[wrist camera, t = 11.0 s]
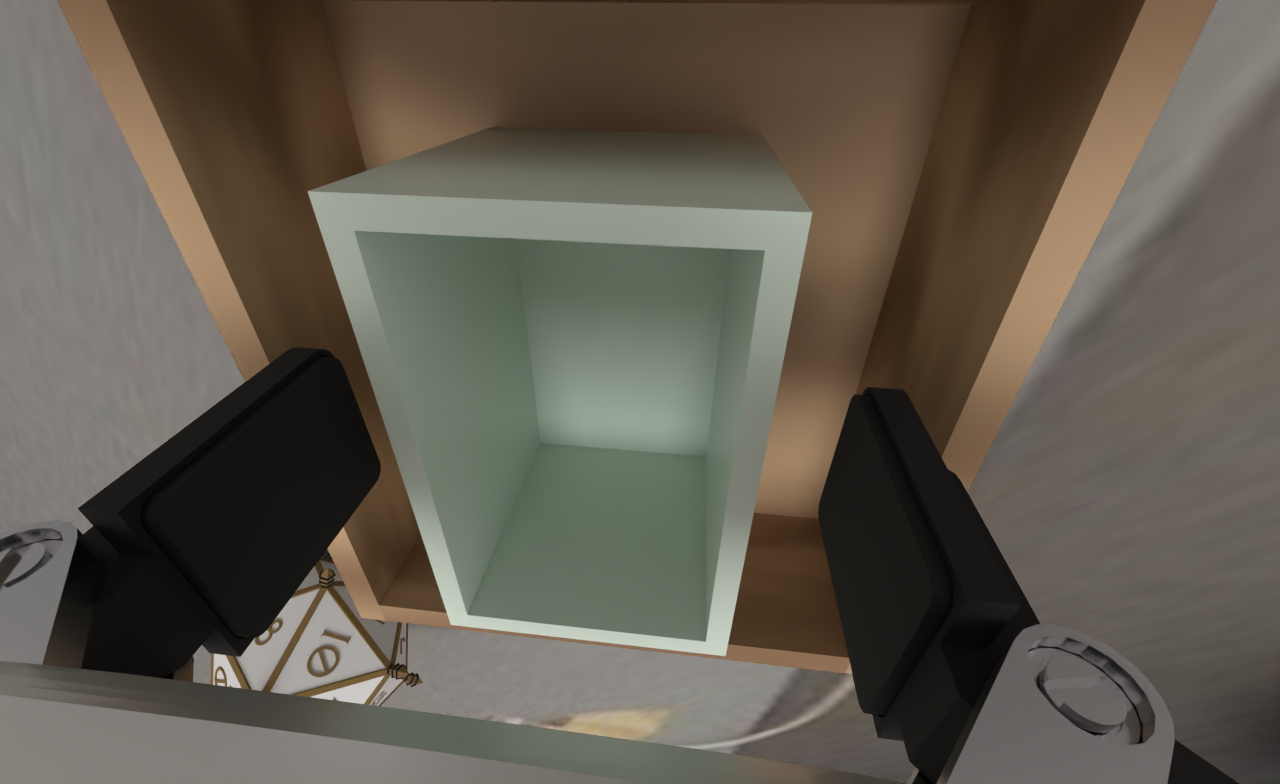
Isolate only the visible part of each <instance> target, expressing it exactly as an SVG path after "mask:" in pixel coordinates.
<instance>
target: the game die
mask: <svg viewBox="0 0 1280 784" xmlns="http://www.w3.org/2000/svg"><path fill="white" fill-rule="evenodd" d="M407 651H408V623H401V622H393V621H384V620H375V619H366V618H361V616H360V614H359V612H358V610H357V608H356V606H355V604H354V602H353V600H352V598H351V596H350V594H349V592H348V590H347V588H346V586H345V584H344V582H343V580H342V578H341V576H340V574H339V572H338V569H337V567H336V565H335V563H334V562H332V561H328V560H325V559H321V558H320V559H319V561H318V562H317V563H316V565H315V566H314V567H313V569H312V570H311V571H310V573H309V574H308V575H307V577H306V578H305V579H304V581H303V582H302V584H301V585H300V586H299V588H298V589H297V590H296V592H295V593H294V594H293V596H292V597H291V598H290V600H289V601H288V602H287V604H286V605H285V607H284V608H283V609H282V611H281V612H280V613H279V615H278V616H277V617H276V619H275V620H274V621H273V623H272V624H271V625H270V627H269V628H268V629H267V630H266V631H265V632H264V633H263V634H262V635H260V636H258V637H256V638H254V640H253V641H252V642H251V644H250V645H249V646H248V648H247V649H246V650H245V652H244V653H243V654H242V656H241V657H237V656H229V655H221V654H213V653H212V656H211V685H219V686H227V687H234V688H242V689H250V690H258V691H266V692H274V693H282V694H290V695H297V696H305V697H313V698H320V699H328V700H336V701H343V702H351V703H358V704H366V705H374V706H381V705H382V704H383V703H384V702H385V701H386V700H387V699H388V698H389V697H390V695H391V694H392V693H393V692H394V691H395V690H396V689H397V688H398V687H399V686H400V685H401V684H402V683H403V682H405V683H406V685H411V687H413V686H415V685H416V684H420V683H423V682H422V681H421V680H420V678H419V675H418V674H417V673H416V674H413V673H411V674H409V673H408V671H407Z"/></svg>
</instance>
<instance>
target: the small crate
mask: <svg viewBox="0 0 1280 784" xmlns="http://www.w3.org/2000/svg"><path fill="white" fill-rule="evenodd" d="M308 194H309V197H310V200H311V203H312V207H313V210H314V213H315V216H316V219H317V222H318V225H319V228H320V231H321V234H322V237H323V240H324V243H325V246H326V249H327V252H328V255H329V258H330V261H331V264H332V267H333V270H334V273H335V276H336V279H337V282H338V285H339V288H340V291H341V294H342V297H343V300H344V303H345V306H346V309H347V312H348V315H349V318H350V321H351V324H352V328H353V331H354V334H355V337H356V340H357V343H358V346H359V349H360V352H361V355H362V358H363V361H364V364H365V367H366V370H367V373H368V376H369V379H370V382H371V385H372V388H373V391H374V394H375V397H376V400H377V403H378V406H379V409H380V412H381V415H382V418H383V421H384V424H385V427H386V430H387V433H388V436H389V439H390V442H391V445H392V449H393V452H394V455H395V458H396V461H397V464H398V467H399V470H400V473H401V476H402V479H403V482H404V485H405V488H406V491H407V494H408V497H409V500H410V503H411V506H412V509H413V512H414V515H415V518H416V521H417V524H418V527H419V530H420V533H421V536H422V539H423V542H424V545H425V548H426V551H427V554H428V557H429V560H430V563H431V566H432V570H433V573H434V576H435V579H436V582H437V585H438V588H439V591H440V594H441V597H442V600H443V603H444V606H445V609H446V612H447V615H448V618H449V621H450V624H451V625H456V626H465V627H473V628H482V629H491V630H500V631H508V632H517V633H526V634H535V635H543V636H552V637H561V638H570V639H578V640H587V641H596V642H605V643H613V644H622V645H631V646H640V647H648V648H657V649H666V650H675V651H683V652H692V653H701V654H710V655H718V656H726V652H727V647H728V642H729V637H730V632H731V626H732V621H733V616H734V611H735V606H736V601H737V596H738V591H739V585H740V580H741V575H742V570H743V565H744V560H745V555H746V550H747V545H748V539H749V534H750V529H751V524H752V519H753V514H754V509H755V504H756V499H757V493H758V488H759V483H760V478H761V473H762V468H763V463H764V458H765V453H766V447H767V442H768V437H769V432H770V427H771V422H772V417H773V412H774V407H775V401H776V396H777V391H778V386H779V381H780V376H781V371H782V366H783V360H784V355H785V350H786V345H787V340H788V335H789V330H790V325H791V320H792V314H793V309H794V304H795V299H796V294H797V289H798V284H799V279H800V274H801V268H802V263H803V258H804V253H805V248H806V243H807V238H808V233H809V228H810V222H811V217H812V211H811V210H810V208H809V206H808V205H807V203H806V202H805V200H804V199H803V197H802V196H801V194H800V193H799V191H798V190H797V188H796V187H795V185H794V183H793V182H792V180H791V179H790V177H789V176H788V174H787V173H786V171H785V170H784V168H783V167H782V165H781V164H780V162H779V160H778V159H777V157H776V156H775V154H774V153H773V151H772V150H771V148H770V147H769V145H768V144H767V142H766V140H765V139H764V137H763V136H762V135H733V134H699V133H666V132H632V131H598V130H565V129H531V128H498V127H490V128H488V129H485V130H482V131H479V132H476V133H473V134H470V135H468V136H465V137H462V138H459V139H456V140H453V141H450V142H448V143H445V144H442V145H439V146H436V147H433V148H430V149H427V150H425V151H422V152H419V153H416V154H413V155H410V156H407V157H405V158H402V159H399V160H396V161H393V162H390V163H387V164H384V165H382V166H379V167H376V168H373V169H370V170H367V171H364V172H362V173H359V174H356V175H353V176H350V177H347V178H344V179H342V180H339V181H336V182H333V183H330V184H327V185H324V186H321V187H319V188H316V189H313V190H310V191H308Z"/></svg>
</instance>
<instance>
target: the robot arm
mask: <svg viewBox="0 0 1280 784" xmlns="http://www.w3.org/2000/svg"><path fill="white" fill-rule="evenodd" d="M380 472H381V464H380V460H379V458H378V455H377V452H376V450H375V447H374V445H373V442H372V439H371V437H370V434H369V432H368V429H367V426H366V424H365V421H364V419H363V416H362V413H361V411H360V408H359V406H358V403H357V401H356V398H355V395H354V393H353V390H352V388H351V385H350V382H349V380H348V377H347V375H346V372H345V369H344V367H343V365H342V363H341V361H340V360H339V359H337V358H335V357H334V355H333V354H332V353H331V352H330V351H328V350H325V349H315V348H301V347H295V348H291V349H289V350H287V351H286V352H284V353H283V354H282V355H281V356H279V357H278V358H277V359H275V360H274V361H273V362H271V363H270V364H269V365H267V366H266V367H265V368H263V369H262V370H261V371H259V372H258V373H257V374H255V375H254V376H253V377H251V378H250V379H249V380H247V381H246V382H245V383H243V384H242V385H241V386H239V387H238V388H237V389H235V390H234V391H233V392H232V393H230V394H229V395H228V396H226V397H225V398H224V399H222V400H221V401H220V402H218V403H217V404H216V405H214V406H213V407H212V408H210V409H209V410H208V411H206V412H205V413H204V414H202V415H201V416H200V417H198V418H197V419H196V420H194V421H193V422H192V423H190V424H189V425H188V426H186V427H185V428H184V429H183V430H181V431H180V432H179V433H177V434H176V435H175V436H173V437H172V438H171V439H169V440H168V441H167V442H165V443H164V444H163V445H161V446H160V447H159V448H157V449H156V450H155V451H153V452H152V453H151V454H149V455H148V456H147V457H145V458H144V459H143V460H141V461H140V462H139V463H137V464H136V465H135V466H134V467H132V468H131V469H130V470H128V471H127V472H126V473H124V474H123V475H122V476H120V477H119V478H118V479H116V480H115V481H114V482H112V483H111V484H110V485H108V486H107V487H106V488H104V489H103V490H102V491H100V492H99V493H98V494H96V495H95V496H94V497H92V498H91V499H90V500H88V501H87V502H86V503H85V504H83V505H82V506H81V507H79V508H78V509H79V510H80V511H81V512H82V514H83V515H84V516H85V517H86V518H87V519H88V520H89V521H90V522H91V523H92V525H93V527H92V528H91V529H89V530H88V531H87V532H86V533H84V534H82V533H81V532H80V531H79V530H78V529H77V528H76V527H75V526H74V525H73V524H72V523H70V522H67V521H62V520H45V521H37V522H33V523H29V524H25V525H21V526H18V527H15V528H12V529H10V530H7V531H4V532H2V533H0V784H904V783H899V782H895V781H890V780H885V779H880V778H875V777H870V776H866V775H861V774H856V773H849V772H843V771H836V770H830V769H824V768H817V767H811V766H804V765H798V764H792V763H785V762H779V761H772V760H766V759H759V758H753V757H747V756H740V755H734V754H727V753H721V752H714V751H706V750H699V749H692V748H685V747H677V746H670V745H663V744H655V743H648V742H641V741H634V740H626V739H619V738H612V737H604V736H597V735H590V734H583V733H575V732H568V731H561V730H553V729H546V728H539V727H532V726H524V725H517V724H509V723H502V722H494V721H487V720H479V719H472V718H464V717H457V716H449V715H442V714H434V713H427V712H419V711H412V710H404V709H396V708H389V707H381V706H374V705H366V704H358V703H351V702H343V701H336V700H328V699H320V698H313V697H305V696H297V695H290V694H282V693H274V692H266V691H258V690H250V689H242V688H234V687H227V686H219V685H211V684H203V683H195V682H193V664H194V658H193V654H194V653H195V652H196V651H197V650H198V648H199V647H200V646H201V645H203V646H204V647H205V648H206V649H207V651H208V652H209V653H213V654H221V655H229V656H237V657H241V656H242V654H243V653H244V652H245V650H246V649H247V648H248V646H249V645H250V644H251V642H252V641H253V640H254V638H256V637H258V636H260V635H262V634H263V633H264V632H265V631H266V630H267V629H268V628H269V627H270V625H271V624H272V623H273V621H274V620H275V619H276V617H277V616H278V615H279V613H280V612H281V611H282V609H283V608H284V607H285V605H286V604H287V602H288V601H289V600H290V598H291V597H292V596H293V594H294V593H295V592H296V590H297V589H298V588H299V586H300V585H301V584H302V582H303V581H304V579H305V578H306V577H307V575H308V574H309V573H310V571H311V570H312V569H313V567H314V566H315V565H316V563H317V562H318V561H319V559H320V558H321V557H322V555H323V554H324V552H325V551H326V550H327V548H328V547H329V546H330V544H331V543H332V542H333V540H334V539H335V538H336V536H337V535H338V534H339V532H340V531H341V530H342V528H343V527H344V525H345V524H346V523H347V521H348V520H349V519H350V517H351V516H352V515H353V513H354V512H355V511H356V509H357V508H358V507H359V505H360V504H361V502H362V501H363V500H364V498H365V497H366V496H367V494H368V493H369V492H370V490H371V489H372V488H373V486H374V485H375V484H376V482H377V481H378V479H379V476H380ZM818 519H819V525H820V529H821V534H822V538H823V543H824V547H825V552H826V556H827V561H828V565H829V570H830V575H831V579H832V584H833V588H834V593H835V597H836V602H837V606H838V611H839V615H840V620H841V625H842V629H843V634H844V638H845V643H846V647H847V652H848V656H849V661H850V665H851V670H852V674H853V679H854V684H855V688H856V693H857V697H858V701H859V705H860V707H861V709H862V711H863V712H864V713H867V714H872V715H873V719H874V723H875V727H876V732H877V736H878V738H885V739H893V740H901V741H904V743H905V747H906V751H907V754H908V758H909V761H910V762H911V763H912V764H913V765H914V766H915V767H916V768H915V770H914V771H913V773H912V775H911V777H910V779H909V781H908V783H907V784H1239V783H1237V782H1236V781H1234V780H1233V779H1231V778H1230V777H1229V776H1227V775H1226V774H1224V773H1223V772H1221V771H1220V770H1218V769H1217V768H1216V767H1214V766H1213V765H1211V764H1210V763H1208V762H1207V761H1205V760H1204V759H1202V758H1201V757H1200V756H1198V755H1197V754H1195V753H1194V752H1192V751H1191V750H1189V749H1188V748H1187V747H1185V746H1184V745H1182V744H1181V743H1179V742H1178V741H1176V740H1175V737H1174V724H1173V720H1172V717H1171V715H1170V713H1169V711H1168V709H1167V706H1166V704H1165V702H1164V700H1163V698H1162V697H1161V696H1160V694H1159V693H1158V692H1157V690H1156V689H1155V688H1154V686H1153V685H1152V684H1151V682H1150V681H1149V680H1148V678H1147V677H1146V676H1145V675H1143V674H1142V673H1141V672H1140V671H1139V670H1138V669H1137V668H1136V667H1135V666H1134V665H1133V664H1132V663H1131V662H1130V661H1129V660H1128V659H1126V658H1125V657H1124V656H1122V655H1121V654H1119V653H1118V652H1116V651H1115V650H1114V649H1112V648H1111V647H1109V646H1108V645H1106V644H1105V643H1103V642H1102V641H1100V640H1097V639H1095V638H1093V637H1091V636H1089V635H1087V634H1085V633H1083V632H1081V631H1079V630H1075V629H1071V628H1068V627H1064V626H1061V625H1053V624H1040V622H1039V621H1038V619H1037V617H1036V615H1035V613H1034V612H1033V610H1032V608H1031V606H1030V604H1029V603H1028V601H1027V599H1026V597H1025V595H1024V594H1023V592H1022V590H1021V588H1020V586H1019V585H1018V583H1017V581H1016V579H1015V577H1014V576H1013V574H1012V572H1011V570H1010V568H1009V567H1008V565H1007V563H1006V561H1005V559H1004V558H1003V556H1002V554H1001V552H1000V550H999V549H998V547H997V545H996V543H995V541H994V540H993V538H992V536H991V534H990V532H989V531H988V529H987V527H986V525H985V523H984V522H983V520H982V518H981V516H980V514H979V513H978V511H977V509H976V507H975V505H974V504H973V502H972V500H971V498H970V496H969V495H968V493H967V491H966V489H965V487H964V486H963V484H962V482H961V480H960V479H959V478H958V476H957V475H956V474H955V473H954V472H952V471H950V470H948V469H947V467H946V465H945V463H944V461H943V459H942V457H941V456H940V454H939V452H938V450H937V448H936V446H935V445H934V443H933V441H932V439H931V437H930V435H929V433H928V432H927V430H926V428H925V426H924V424H923V422H922V420H921V419H920V417H919V415H918V413H917V411H916V409H915V408H914V406H913V404H912V402H911V400H910V398H909V396H908V395H907V393H906V392H905V391H904V390H902V389H891V388H876V387H868V388H866V389H865V390H864V392H863V394H862V395H856V394H855V395H853V397H852V398H851V401H850V404H849V407H848V410H847V413H846V417H845V420H844V423H843V427H842V430H841V433H840V436H839V440H838V443H837V446H836V449H835V453H834V456H833V459H832V462H831V466H830V469H829V472H828V475H827V479H826V482H825V485H824V489H823V492H822V495H821V498H820V502H819V508H818Z"/></svg>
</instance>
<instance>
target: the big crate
mask: <svg viewBox="0 0 1280 784" xmlns="http://www.w3.org/2000/svg"><path fill="white" fill-rule="evenodd" d="M57 2H58V4H59V6H60V8H61V10H62V12H63V14H64V16H65V18H66V20H67V22H68V24H69V26H70V28H71V30H72V32H73V34H74V36H75V38H76V40H77V42H78V44H79V46H80V48H81V50H82V52H83V55H84V57H85V59H86V61H87V63H88V65H89V67H90V69H91V71H92V73H93V75H94V77H95V79H96V81H97V83H98V85H99V87H100V89H101V91H102V93H103V95H104V97H105V99H106V101H107V103H108V105H109V107H110V109H111V111H112V113H113V115H114V117H115V119H116V121H117V123H118V125H119V128H120V130H121V132H122V134H123V136H124V138H125V140H126V142H127V144H128V146H129V148H130V150H131V152H132V154H133V156H134V158H135V160H136V162H137V164H138V166H139V168H140V170H141V172H142V174H143V176H144V178H145V180H146V182H147V184H148V186H149V188H150V190H151V192H152V194H153V196H154V198H155V200H156V203H157V205H158V207H159V209H160V211H161V213H162V215H163V217H164V219H165V221H166V223H167V225H168V227H169V229H170V231H171V233H172V235H173V237H174V239H175V241H176V243H177V245H178V247H179V249H180V251H181V253H182V255H183V257H184V259H185V261H186V263H187V265H188V267H189V269H190V271H191V273H192V276H193V278H194V280H195V282H196V284H197V286H198V288H199V290H200V292H201V294H202V296H203V298H204V300H205V302H206V304H207V306H208V308H209V310H210V312H211V314H212V316H213V318H214V320H215V322H216V324H217V326H218V328H219V330H220V332H221V334H222V336H223V338H224V340H225V342H226V344H227V346H228V348H229V351H230V353H231V355H232V357H233V359H234V361H235V363H236V365H237V367H238V369H239V371H240V373H241V375H242V377H243V379H244V381H245V382H246V381H247V380H249V379H250V378H251V377H253V376H254V375H255V374H257V373H258V372H259V371H261V370H262V369H263V368H265V367H266V366H267V365H269V364H270V363H271V362H273V361H274V360H275V359H277V358H278V357H279V356H281V355H282V354H283V353H284V352H286V351H287V350H289V349H291V348H295V347H301V348H315V349H325V350H328V351H330V352H331V353H332V354H333V355H334V357H335V358H337V359H339V360H340V361H341V363H342V365H343V367H344V369H345V372H346V375H347V377H348V380H349V382H350V385H351V388H352V390H353V393H354V395H355V398H356V401H357V403H358V406H359V408H360V411H361V413H362V416H363V419H364V421H365V424H366V426H367V429H368V432H369V434H370V437H371V439H372V442H373V445H374V447H375V450H376V452H377V455H378V458H379V460H380V464H381V472H380V476H379V479H378V481H377V482H376V484H375V485H374V486H373V488H372V489H371V490H370V492H369V493H368V494H367V496H366V497H365V498H364V500H363V501H362V502H361V504H360V505H359V507H358V508H357V509H356V511H355V512H354V513H353V515H352V516H351V517H350V519H349V520H348V521H347V523H346V524H345V525H344V527H343V528H342V530H341V531H340V532H339V534H338V535H337V536H336V538H335V539H334V540H333V542H332V543H331V544H330V546H329V547H328V548H327V549H328V551H329V553H330V555H331V557H332V559H333V561H334V563H335V565H336V567H337V569H338V572H339V574H340V576H341V578H342V580H343V582H344V584H345V586H346V588H347V590H348V592H349V594H350V596H351V598H352V600H353V602H354V604H355V606H356V608H357V610H358V612H359V614H360V616H361V618H366V619H375V620H384V621H393V622H401V623H410V624H419V625H428V626H436V627H445V628H454V629H463V630H471V631H480V632H489V633H498V634H506V635H515V636H524V637H533V638H542V639H550V640H559V641H568V642H577V643H585V644H594V645H603V646H612V647H620V648H629V649H638V650H647V651H655V652H664V653H673V654H682V655H690V656H699V657H708V658H717V659H725V660H734V661H743V662H752V663H760V664H769V665H778V666H787V667H795V668H804V669H813V670H822V671H831V672H839V673H848V674H852V670H851V665H850V661H849V656H848V652H847V647H846V643H845V638H844V634H843V629H842V625H841V620H840V615H839V611H838V606H837V602H836V597H835V593H834V588H833V584H832V579H831V575H830V570H829V565H828V561H827V556H826V552H825V547H824V543H823V538H822V534H821V529H820V525H819V519H818V508H819V502H820V498H821V495H822V492H823V489H824V485H825V482H826V479H827V475H828V472H829V469H830V466H831V462H832V459H833V456H834V453H835V449H836V446H837V443H838V440H839V436H840V433H841V430H842V427H843V423H844V420H845V417H846V413H847V410H848V407H849V404H850V401H851V398H852V397H853V395H855V394H856V395H862V394H863V392H864V390H865V389H866V388H868V387H876V388H891V389H902V390H904V391H905V392H906V393H907V395H908V396H909V398H910V400H911V402H912V404H913V406H914V408H915V409H916V411H917V413H918V415H919V417H920V419H921V420H922V422H923V424H924V426H925V428H926V430H927V432H928V433H929V435H930V437H931V439H932V441H933V443H934V445H935V446H936V448H937V450H938V452H939V454H940V456H941V457H942V459H943V461H944V463H945V465H946V467H947V469H948V470H950V471H952V472H954V473H955V474H956V475H957V476H958V478H959V479H960V480H961V482H962V484H963V486H964V487H965V489H966V491H967V492H968V490H969V488H970V486H971V484H972V482H973V480H974V478H975V476H976V474H977V472H978V470H979V468H980V466H981V464H982V462H983V460H984V458H985V456H986V454H987V452H988V450H989V448H990V447H991V445H992V443H993V441H994V439H995V437H996V435H997V433H998V431H999V429H1000V427H1001V425H1002V423H1003V421H1004V419H1005V417H1006V415H1007V413H1008V411H1009V409H1010V407H1011V405H1012V403H1013V401H1014V399H1015V397H1016V395H1017V393H1018V391H1019V389H1020V387H1021V385H1022V384H1023V382H1024V380H1025V378H1026V376H1027V374H1028V372H1029V370H1030V368H1031V366H1032V364H1033V362H1034V360H1035V358H1036V356H1037V354H1038V352H1039V350H1040V348H1041V346H1042V344H1043V342H1044V340H1045V338H1046V336H1047V334H1048V332H1049V330H1050V328H1051V326H1052V324H1053V323H1054V321H1055V319H1056V317H1057V315H1058V313H1059V311H1060V309H1061V307H1062V305H1063V303H1064V301H1065V299H1066V297H1067V295H1068V293H1069V291H1070V289H1071V287H1072V285H1073V283H1074V281H1075V279H1076V277H1077V275H1078V273H1079V271H1080V269H1081V267H1082V265H1083V263H1084V262H1085V260H1086V258H1087V256H1088V254H1089V252H1090V250H1091V248H1092V246H1093V244H1094V242H1095V240H1096V238H1097V236H1098V234H1099V232H1100V230H1101V228H1102V226H1103V224H1104V222H1105V220H1106V218H1107V216H1108V214H1109V212H1110V210H1111V208H1112V206H1113V204H1114V202H1115V200H1116V199H1117V197H1118V195H1119V193H1120V191H1121V189H1122V187H1123V185H1124V183H1125V181H1126V179H1127V177H1128V175H1129V173H1130V171H1131V169H1132V167H1133V165H1134V163H1135V161H1136V159H1137V157H1138V155H1139V153H1140V151H1141V149H1142V147H1143V145H1144V143H1145V141H1146V139H1147V138H1148V136H1149V134H1150V132H1151V130H1152V128H1153V126H1154V124H1155V122H1156V120H1157V118H1158V116H1159V114H1160V112H1161V110H1162V108H1163V106H1164V104H1165V102H1166V100H1167V98H1168V96H1169V94H1170V92H1171V90H1172V88H1173V86H1174V84H1175V82H1176V80H1177V78H1178V77H1179V75H1180V73H1181V71H1182V69H1183V67H1184V65H1185V63H1186V61H1187V59H1188V57H1189V55H1190V53H1191V51H1192V49H1193V47H1194V45H1195V43H1196V41H1197V39H1198V37H1199V35H1200V33H1201V31H1202V29H1203V27H1204V25H1205V23H1206V21H1207V19H1208V17H1209V15H1210V14H1211V12H1212V10H1213V8H1214V6H1215V4H1216V2H1217V0H57ZM490 127H498V128H531V129H565V130H598V131H632V132H666V133H699V134H733V135H762V136H763V137H764V139H765V140H766V142H767V144H768V145H769V147H770V148H771V150H772V151H773V153H774V154H775V156H776V157H777V159H778V160H779V162H780V164H781V165H782V167H783V168H784V170H785V171H786V173H787V174H788V176H789V177H790V179H791V180H792V182H793V183H794V185H795V187H796V188H797V190H798V191H799V193H800V194H801V196H802V197H803V199H804V200H805V202H806V203H807V205H808V206H809V208H810V210H811V211H812V217H811V222H810V228H809V233H808V238H807V243H806V248H805V253H804V258H803V263H802V268H801V274H800V279H799V284H798V289H797V294H796V299H795V304H794V309H793V314H792V320H791V325H790V330H789V335H788V340H787V345H786V350H785V355H784V360H783V366H782V371H781V376H780V381H779V386H778V391H777V396H776V401H775V407H774V412H773V417H772V422H771V427H770V432H769V437H768V442H767V447H766V453H765V458H764V463H763V468H762V473H761V478H760V483H759V488H758V493H757V499H756V504H755V509H754V514H753V519H752V524H751V529H750V534H749V539H748V545H747V550H746V555H745V560H744V565H743V570H742V575H741V580H740V585H739V591H738V596H737V601H736V606H735V611H734V616H733V621H732V626H731V632H730V637H729V642H728V647H727V652H726V656H718V655H710V654H701V653H692V652H683V651H675V650H666V649H657V648H648V647H640V646H631V645H622V644H613V643H605V642H596V641H587V640H578V639H570V638H561V637H552V636H543V635H535V634H526V633H517V632H508V631H500V630H491V629H482V628H473V627H465V626H456V625H451V624H450V621H449V618H448V615H447V612H446V609H445V606H444V603H443V600H442V597H441V594H440V591H439V588H438V585H437V582H436V579H435V576H434V573H433V570H432V566H431V563H430V560H429V557H428V554H427V551H426V548H425V545H424V542H423V539H422V536H421V533H420V530H419V527H418V524H417V521H416V518H415V515H414V512H413V509H412V506H411V503H410V500H409V497H408V494H407V491H406V488H405V485H404V482H403V479H402V476H401V473H400V470H399V467H398V464H397V461H396V458H395V455H394V452H393V449H392V445H391V442H390V439H389V436H388V433H387V430H386V427H385V424H384V421H383V418H382V415H381V412H380V409H379V406H378V403H377V400H376V397H375V394H374V391H373V388H372V385H371V382H370V379H369V376H368V373H367V370H366V367H365V364H364V361H363V358H362V355H361V352H360V349H359V346H358V343H357V340H356V337H355V334H354V331H353V328H352V324H351V321H350V318H349V315H348V312H347V309H346V306H345V303H344V300H343V297H342V294H341V291H340V288H339V285H338V282H337V279H336V276H335V273H334V270H333V267H332V264H331V261H330V258H329V255H328V252H327V249H326V246H325V243H324V240H323V237H322V234H321V231H320V228H319V225H318V222H317V219H316V216H315V213H314V210H313V207H312V203H311V200H310V197H309V194H308V191H310V190H313V189H316V188H319V187H321V186H324V185H327V184H330V183H333V182H336V181H339V180H342V179H344V178H347V177H350V176H353V175H356V174H359V173H362V172H364V171H367V170H370V169H373V168H376V167H379V166H382V165H384V164H387V163H390V162H393V161H396V160H399V159H402V158H405V157H407V156H410V155H413V154H416V153H419V152H422V151H425V150H427V149H430V148H433V147H436V146H439V145H442V144H445V143H448V142H450V141H453V140H456V139H459V138H462V137H465V136H468V135H470V134H473V133H476V132H479V131H482V130H485V129H488V128H490Z"/></svg>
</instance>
